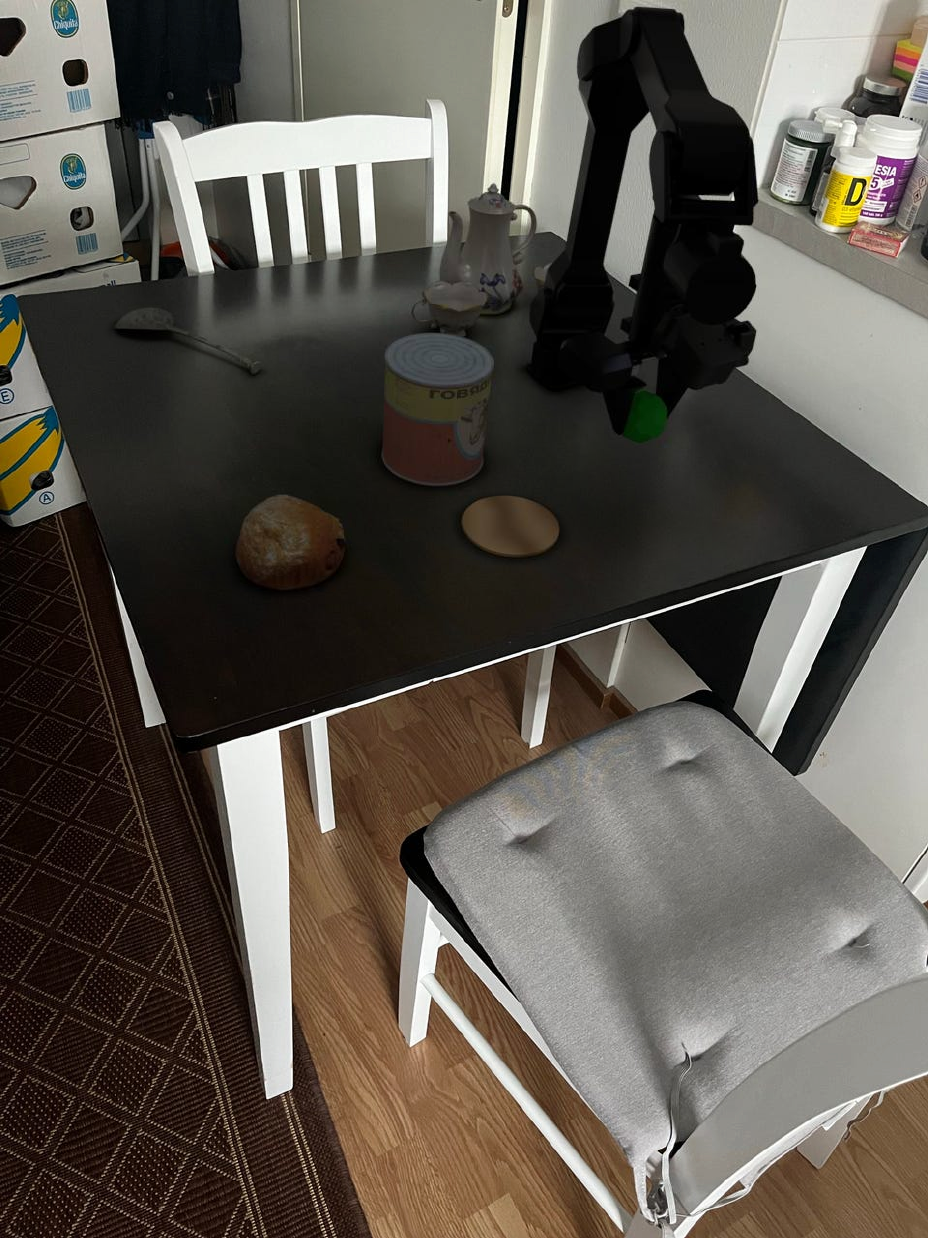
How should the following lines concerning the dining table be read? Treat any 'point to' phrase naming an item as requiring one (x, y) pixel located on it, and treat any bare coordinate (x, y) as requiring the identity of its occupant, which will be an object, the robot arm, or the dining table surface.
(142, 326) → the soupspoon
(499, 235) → the chinaware
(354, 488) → the dining table surface
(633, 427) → the polyhedron
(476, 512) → the coaster
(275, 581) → the bread roll
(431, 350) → the canned food
